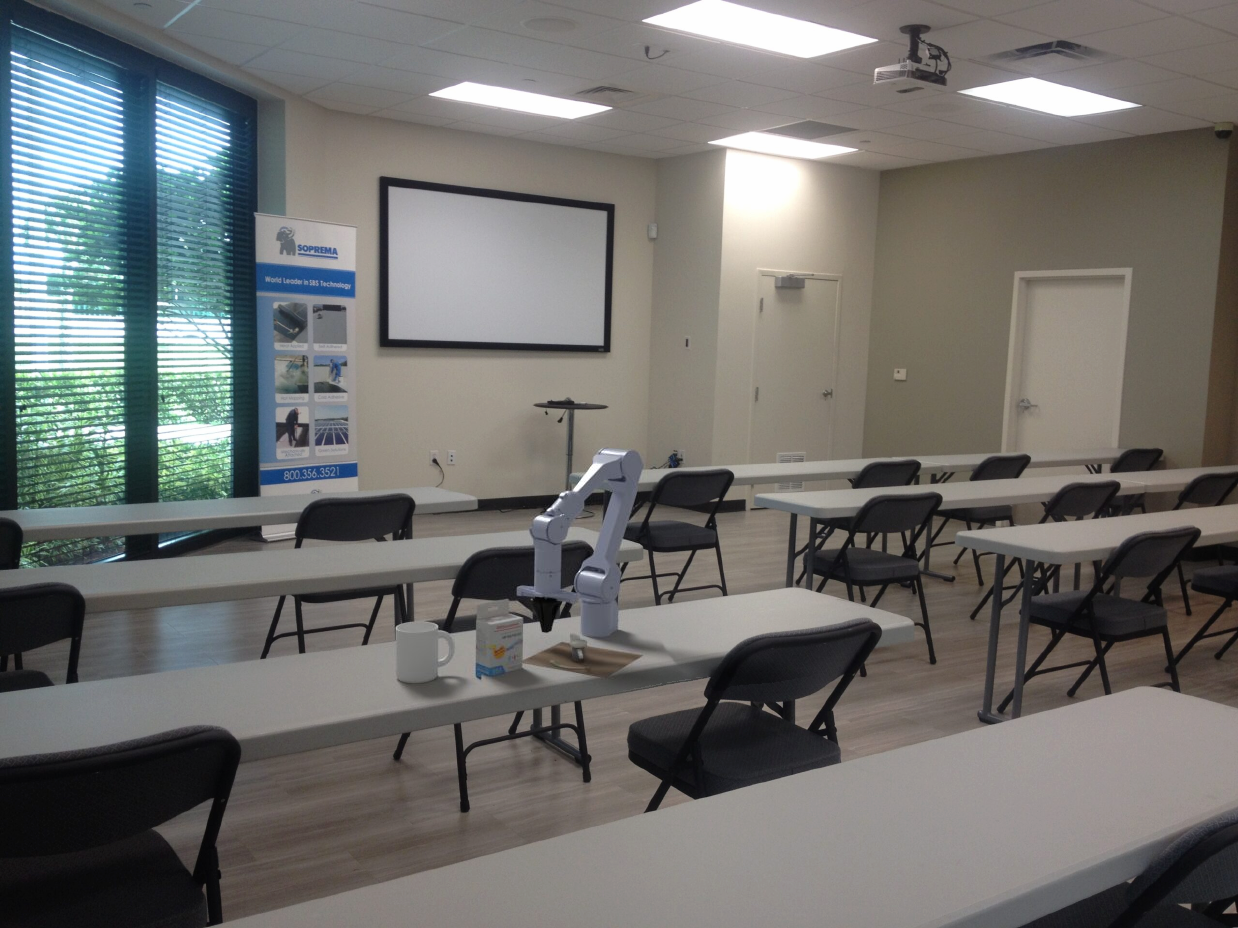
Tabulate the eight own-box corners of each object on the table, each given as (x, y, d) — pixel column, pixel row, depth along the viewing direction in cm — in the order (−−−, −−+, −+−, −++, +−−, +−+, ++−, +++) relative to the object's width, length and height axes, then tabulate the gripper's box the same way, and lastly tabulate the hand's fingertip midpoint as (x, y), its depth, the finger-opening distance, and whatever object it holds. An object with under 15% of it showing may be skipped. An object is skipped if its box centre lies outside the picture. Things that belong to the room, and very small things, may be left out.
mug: (448, 666, 204) (448, 617, 203) (461, 678, 196) (462, 627, 195) (390, 674, 198) (390, 623, 197) (402, 686, 191) (402, 634, 190)
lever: (589, 668, 200) (590, 649, 200) (572, 668, 200) (572, 649, 199) (582, 647, 215) (582, 629, 214) (565, 648, 214) (565, 630, 214)
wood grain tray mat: (561, 647, 220) (561, 640, 219) (643, 660, 211) (643, 654, 210) (519, 667, 204) (519, 661, 204) (605, 683, 195) (605, 676, 195)
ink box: (490, 682, 194) (490, 609, 193) (474, 676, 198) (475, 604, 196) (523, 673, 200) (524, 602, 199) (508, 667, 204) (508, 597, 202)
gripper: (509, 569, 215) (508, 630, 216) (567, 577, 208) (566, 640, 209) (526, 564, 221) (525, 623, 222) (583, 571, 214) (582, 632, 216)
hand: (546, 631), depth 216 cm, fingers closed
